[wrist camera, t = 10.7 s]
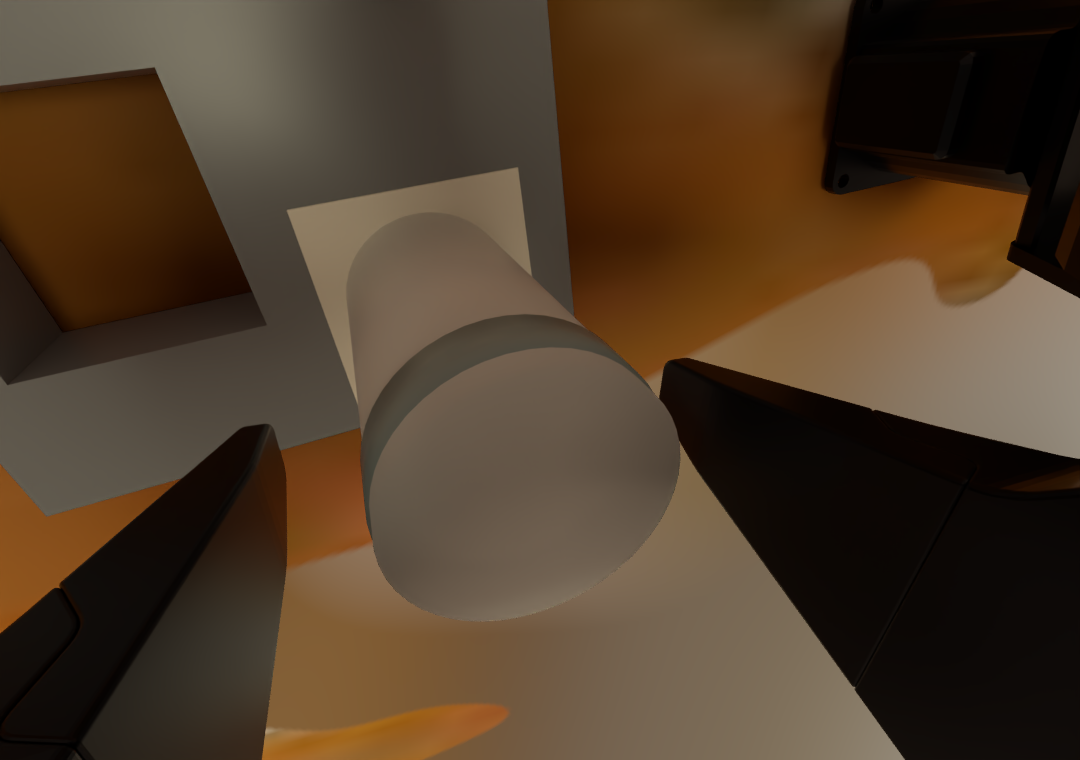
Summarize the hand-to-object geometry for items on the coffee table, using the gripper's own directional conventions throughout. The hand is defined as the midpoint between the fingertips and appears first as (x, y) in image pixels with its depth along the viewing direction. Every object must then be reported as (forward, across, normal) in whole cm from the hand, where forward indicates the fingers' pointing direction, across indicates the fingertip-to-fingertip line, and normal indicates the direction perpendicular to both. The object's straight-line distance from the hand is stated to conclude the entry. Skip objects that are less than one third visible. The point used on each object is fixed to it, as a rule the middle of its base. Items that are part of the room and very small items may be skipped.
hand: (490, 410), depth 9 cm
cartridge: (+6, 0, 0) cm, 6 cm away
